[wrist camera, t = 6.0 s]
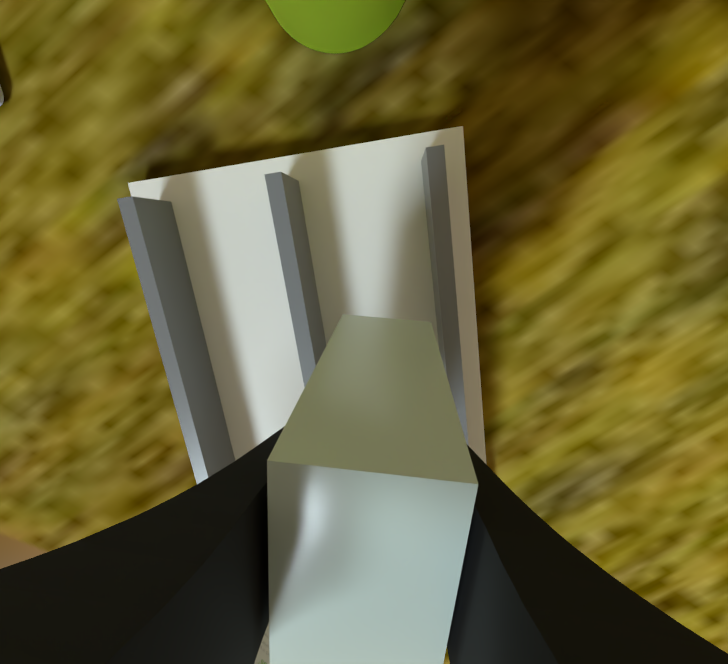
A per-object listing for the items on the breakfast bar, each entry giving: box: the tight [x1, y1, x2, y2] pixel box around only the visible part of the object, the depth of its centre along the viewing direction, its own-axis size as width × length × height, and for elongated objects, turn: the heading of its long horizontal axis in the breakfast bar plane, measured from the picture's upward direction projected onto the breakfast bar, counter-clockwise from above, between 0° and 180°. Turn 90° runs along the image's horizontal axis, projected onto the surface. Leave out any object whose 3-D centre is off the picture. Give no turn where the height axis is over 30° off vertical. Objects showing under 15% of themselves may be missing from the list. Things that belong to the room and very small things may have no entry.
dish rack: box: [117, 126, 486, 484], centre depth 17 cm, size 18×14×4 cm
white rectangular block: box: [267, 314, 478, 664], centre depth 10 cm, size 6×3×8 cm, turn 176°
